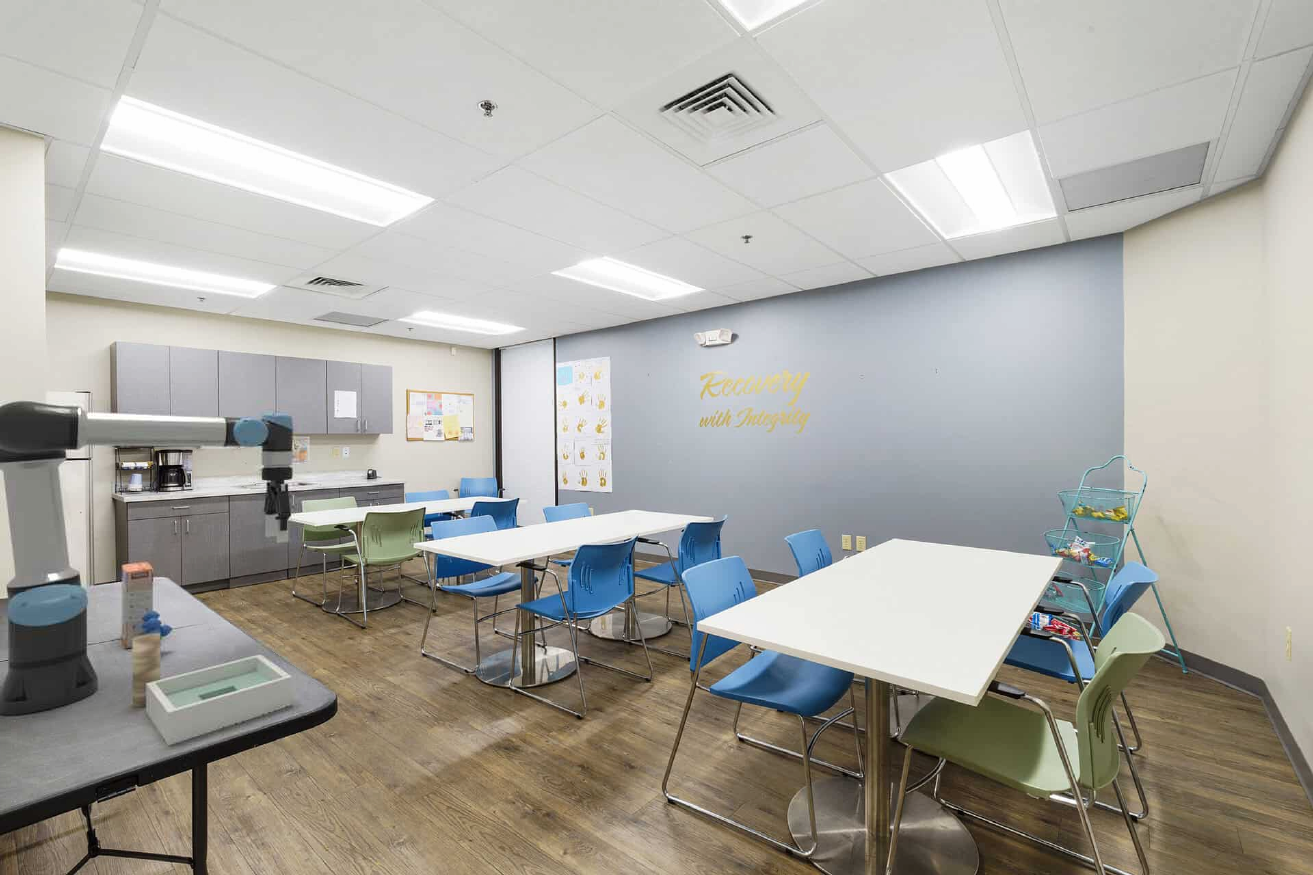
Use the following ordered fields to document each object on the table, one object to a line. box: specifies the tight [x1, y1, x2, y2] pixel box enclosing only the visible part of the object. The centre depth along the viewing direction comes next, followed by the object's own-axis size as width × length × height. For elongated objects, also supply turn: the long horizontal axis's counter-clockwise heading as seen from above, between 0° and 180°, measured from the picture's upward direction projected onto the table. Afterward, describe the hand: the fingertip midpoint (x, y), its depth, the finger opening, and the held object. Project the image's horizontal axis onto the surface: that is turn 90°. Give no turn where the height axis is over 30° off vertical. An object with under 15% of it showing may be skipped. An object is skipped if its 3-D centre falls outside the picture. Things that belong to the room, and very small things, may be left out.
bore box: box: [145, 654, 293, 746], centre depth 118 cm, size 20×20×6 cm
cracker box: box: [120, 561, 154, 649], centre depth 159 cm, size 14×6×21 cm, turn 46°
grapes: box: [138, 610, 173, 646], centre depth 148 cm, size 12×7×12 cm, turn 47°
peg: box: [132, 633, 161, 708], centre depth 121 cm, size 4×4×14 cm
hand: (276, 539), depth 166 cm, fingers open, 13 cm apart
